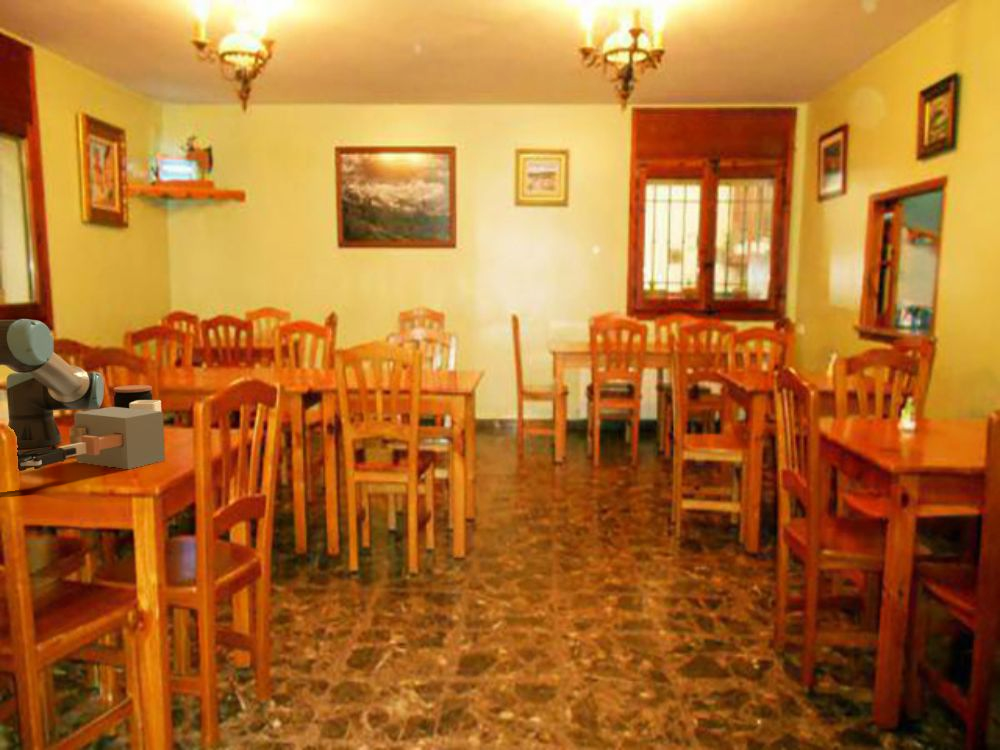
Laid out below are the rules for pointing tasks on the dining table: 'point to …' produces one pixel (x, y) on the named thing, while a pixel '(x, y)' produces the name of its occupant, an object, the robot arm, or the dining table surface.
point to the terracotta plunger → (101, 442)
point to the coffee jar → (131, 394)
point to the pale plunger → (76, 434)
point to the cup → (146, 405)
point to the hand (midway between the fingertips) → (84, 447)
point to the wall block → (124, 436)
